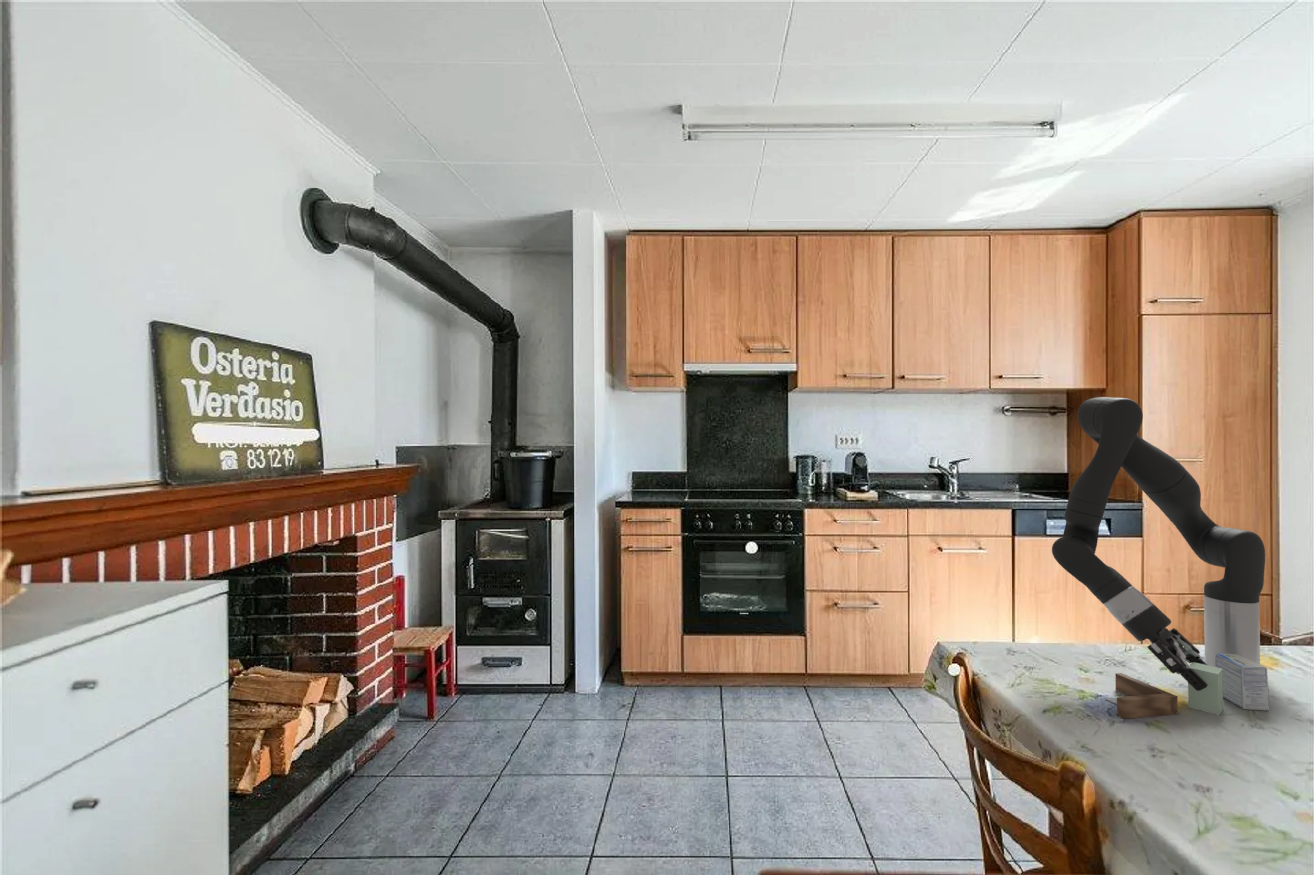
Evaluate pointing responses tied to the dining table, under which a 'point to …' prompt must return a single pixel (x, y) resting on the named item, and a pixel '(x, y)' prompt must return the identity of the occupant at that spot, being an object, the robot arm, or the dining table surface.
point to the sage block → (1207, 689)
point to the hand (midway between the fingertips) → (1208, 683)
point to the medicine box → (1244, 681)
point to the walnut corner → (1142, 699)
